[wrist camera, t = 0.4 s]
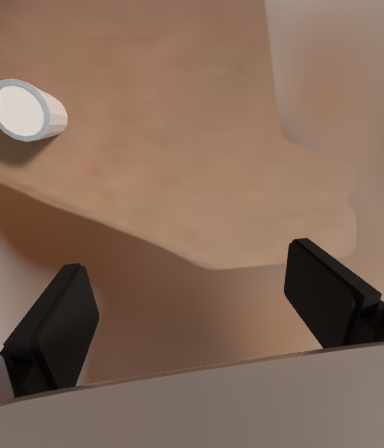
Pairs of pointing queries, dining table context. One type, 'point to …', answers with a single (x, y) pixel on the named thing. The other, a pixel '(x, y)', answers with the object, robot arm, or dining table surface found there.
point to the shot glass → (29, 112)
